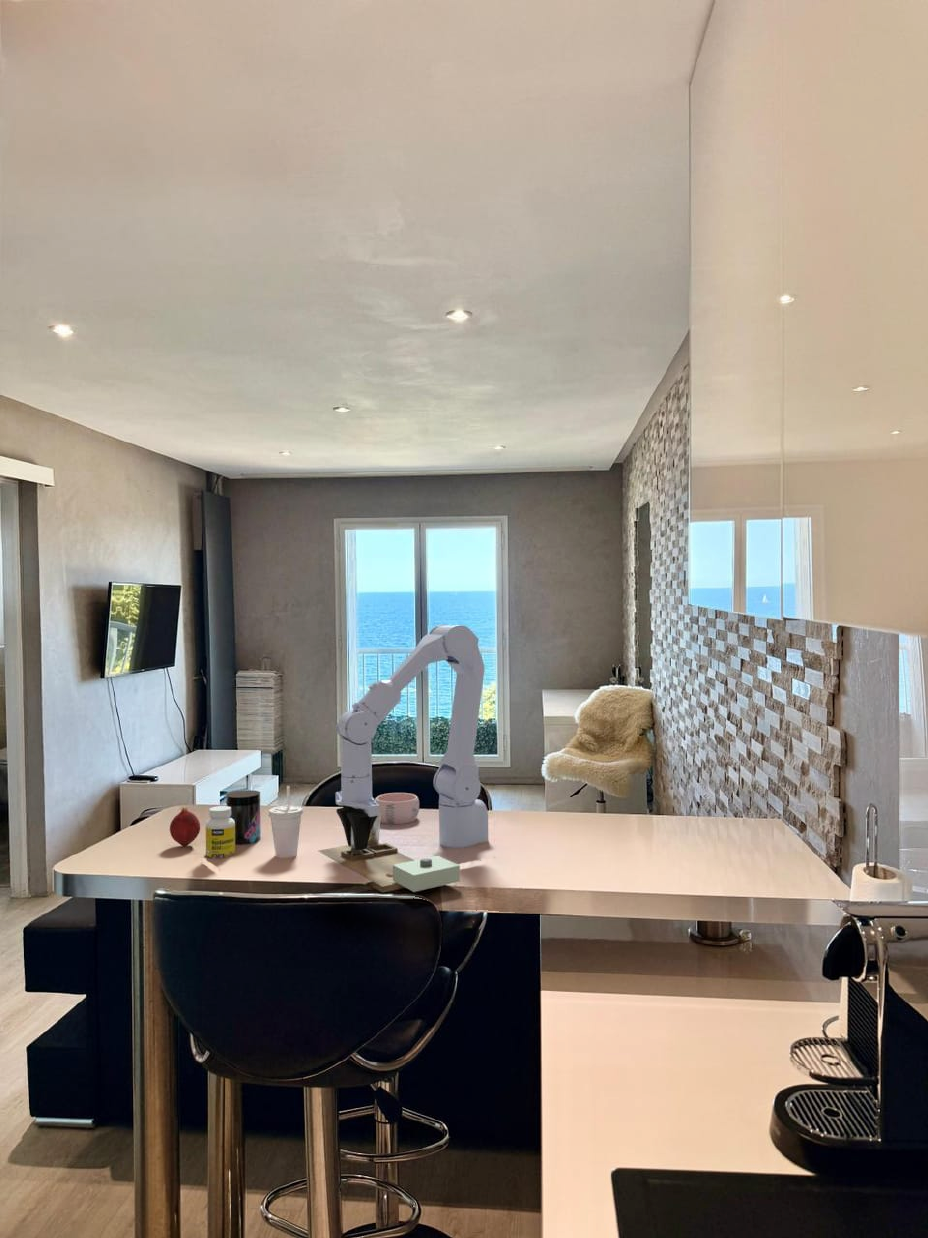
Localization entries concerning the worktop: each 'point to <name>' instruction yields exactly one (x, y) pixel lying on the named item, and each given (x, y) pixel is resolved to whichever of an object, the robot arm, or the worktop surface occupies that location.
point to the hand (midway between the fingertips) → (357, 847)
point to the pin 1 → (353, 850)
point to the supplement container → (245, 815)
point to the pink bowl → (398, 808)
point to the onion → (184, 827)
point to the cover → (426, 873)
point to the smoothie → (286, 828)
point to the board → (371, 863)
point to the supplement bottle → (220, 833)
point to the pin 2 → (375, 832)
